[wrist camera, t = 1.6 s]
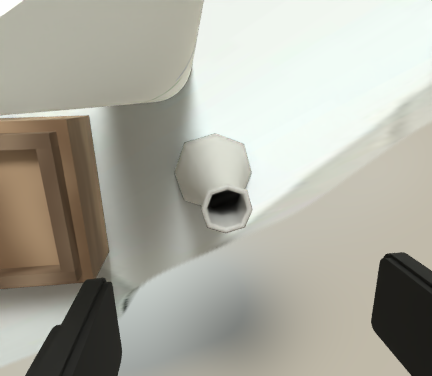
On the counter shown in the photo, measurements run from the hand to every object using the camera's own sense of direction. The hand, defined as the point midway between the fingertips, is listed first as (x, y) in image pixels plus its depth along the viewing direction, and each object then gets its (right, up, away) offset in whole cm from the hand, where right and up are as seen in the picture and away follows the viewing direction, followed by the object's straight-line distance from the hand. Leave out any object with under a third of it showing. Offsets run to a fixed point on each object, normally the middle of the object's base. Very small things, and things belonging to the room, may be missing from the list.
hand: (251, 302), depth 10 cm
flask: (-2, +6, +18) cm, 19 cm away
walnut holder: (-18, +4, +16) cm, 25 cm away
